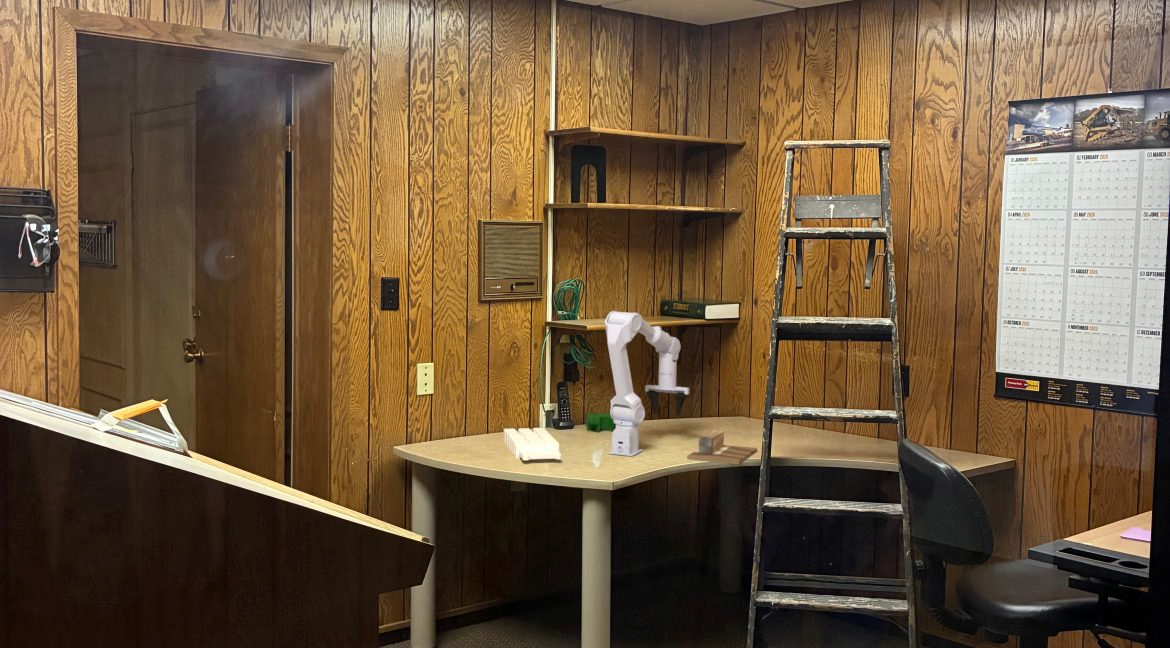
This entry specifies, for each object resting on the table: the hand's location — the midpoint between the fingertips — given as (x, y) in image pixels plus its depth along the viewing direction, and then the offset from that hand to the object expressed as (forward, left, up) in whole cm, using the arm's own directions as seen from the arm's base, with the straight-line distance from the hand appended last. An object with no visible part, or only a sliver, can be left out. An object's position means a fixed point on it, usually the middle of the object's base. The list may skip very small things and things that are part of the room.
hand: (666, 414), depth 333 cm
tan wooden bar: (-8, -18, -8) cm, 21 cm away
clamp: (+11, +27, -10) cm, 30 cm away
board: (-10, -22, -9) cm, 26 cm away
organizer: (-34, +32, -10) cm, 47 cm away
